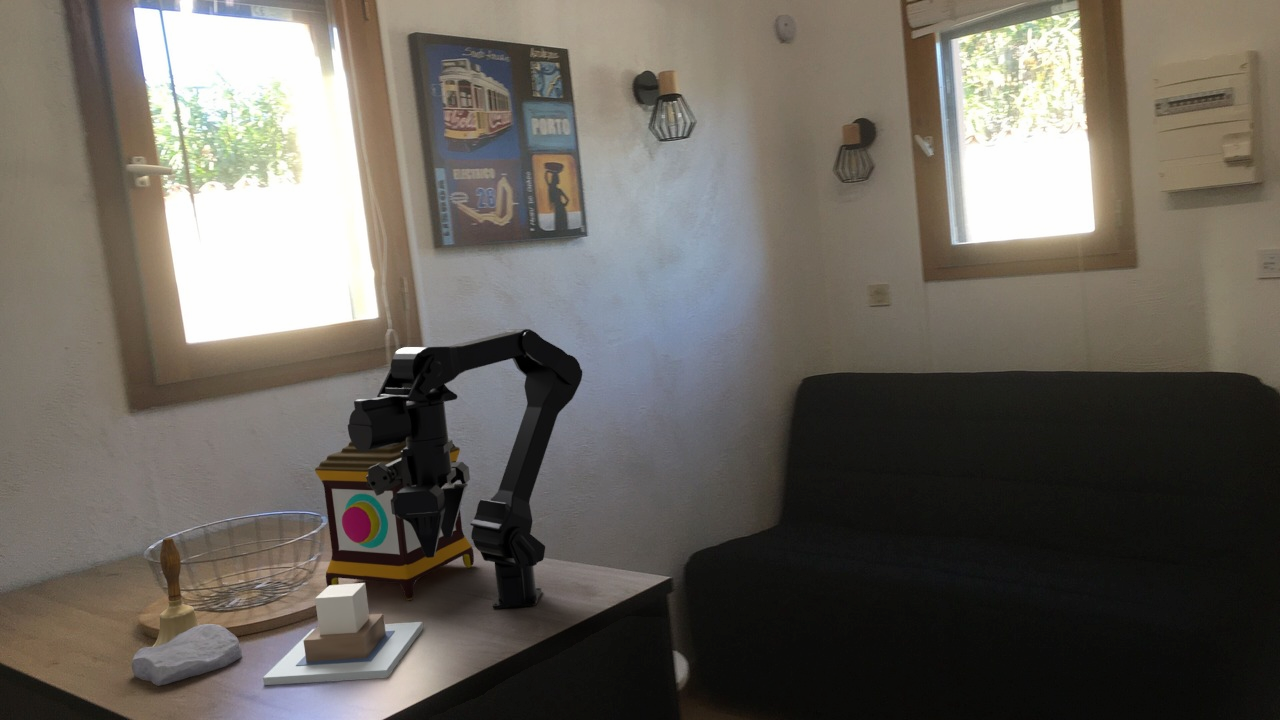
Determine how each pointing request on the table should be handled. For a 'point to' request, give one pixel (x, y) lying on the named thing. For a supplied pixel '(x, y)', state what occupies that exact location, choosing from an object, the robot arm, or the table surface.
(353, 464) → the decorative lantern
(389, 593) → the table surface
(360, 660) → the board
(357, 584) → the plastic cube
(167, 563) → the hand bell
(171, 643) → the stone block
